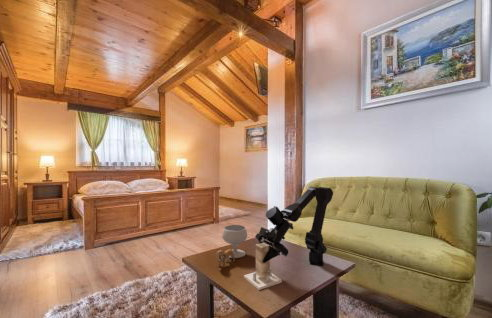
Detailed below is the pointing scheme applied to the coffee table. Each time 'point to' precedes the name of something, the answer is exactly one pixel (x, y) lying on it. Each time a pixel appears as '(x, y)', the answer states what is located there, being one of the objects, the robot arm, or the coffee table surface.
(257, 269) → the birch post
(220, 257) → the lion figurine
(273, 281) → the peg stand
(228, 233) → the chalice
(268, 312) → the coffee table surface
